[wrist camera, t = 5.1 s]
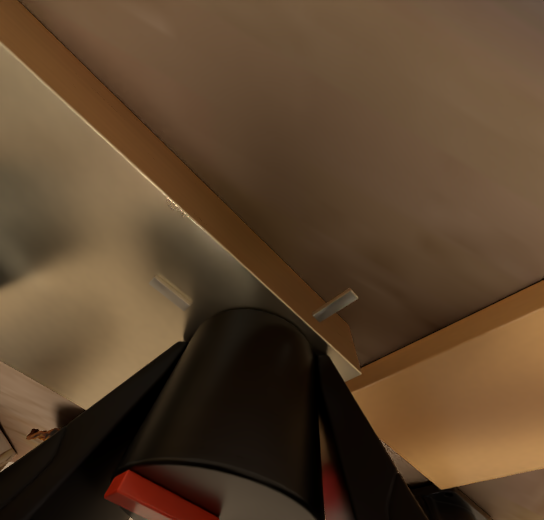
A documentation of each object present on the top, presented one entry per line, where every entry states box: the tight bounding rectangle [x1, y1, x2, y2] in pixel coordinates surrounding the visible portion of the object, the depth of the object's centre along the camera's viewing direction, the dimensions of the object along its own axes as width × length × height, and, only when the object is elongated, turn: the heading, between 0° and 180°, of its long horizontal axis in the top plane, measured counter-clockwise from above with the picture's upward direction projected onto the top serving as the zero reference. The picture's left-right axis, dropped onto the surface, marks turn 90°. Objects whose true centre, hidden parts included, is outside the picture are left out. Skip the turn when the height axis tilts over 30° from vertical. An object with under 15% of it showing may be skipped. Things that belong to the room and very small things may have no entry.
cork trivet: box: [345, 280, 544, 490], centre depth 11 cm, size 10×10×1 cm
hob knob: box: [104, 309, 325, 520], centre depth 6 cm, size 4×4×4 cm
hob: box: [0, 0, 362, 410], centre depth 9 cm, size 19×14×3 cm
